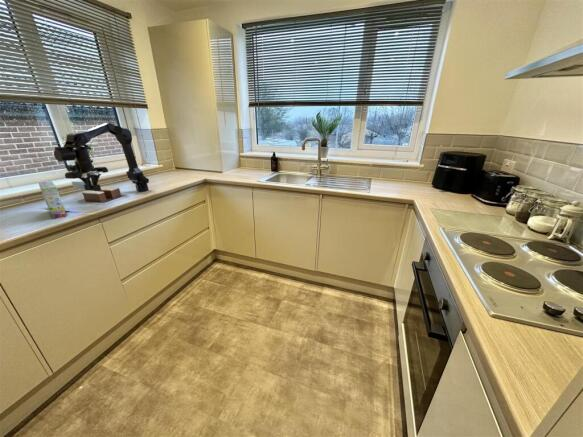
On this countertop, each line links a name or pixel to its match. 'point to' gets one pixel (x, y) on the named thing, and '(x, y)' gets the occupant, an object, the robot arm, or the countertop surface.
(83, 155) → the robot arm
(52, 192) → the snack box
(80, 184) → the knife
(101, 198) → the cake slice
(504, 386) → the countertop surface
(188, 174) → the countertop surface
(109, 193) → the sheet cake
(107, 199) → the cake board
